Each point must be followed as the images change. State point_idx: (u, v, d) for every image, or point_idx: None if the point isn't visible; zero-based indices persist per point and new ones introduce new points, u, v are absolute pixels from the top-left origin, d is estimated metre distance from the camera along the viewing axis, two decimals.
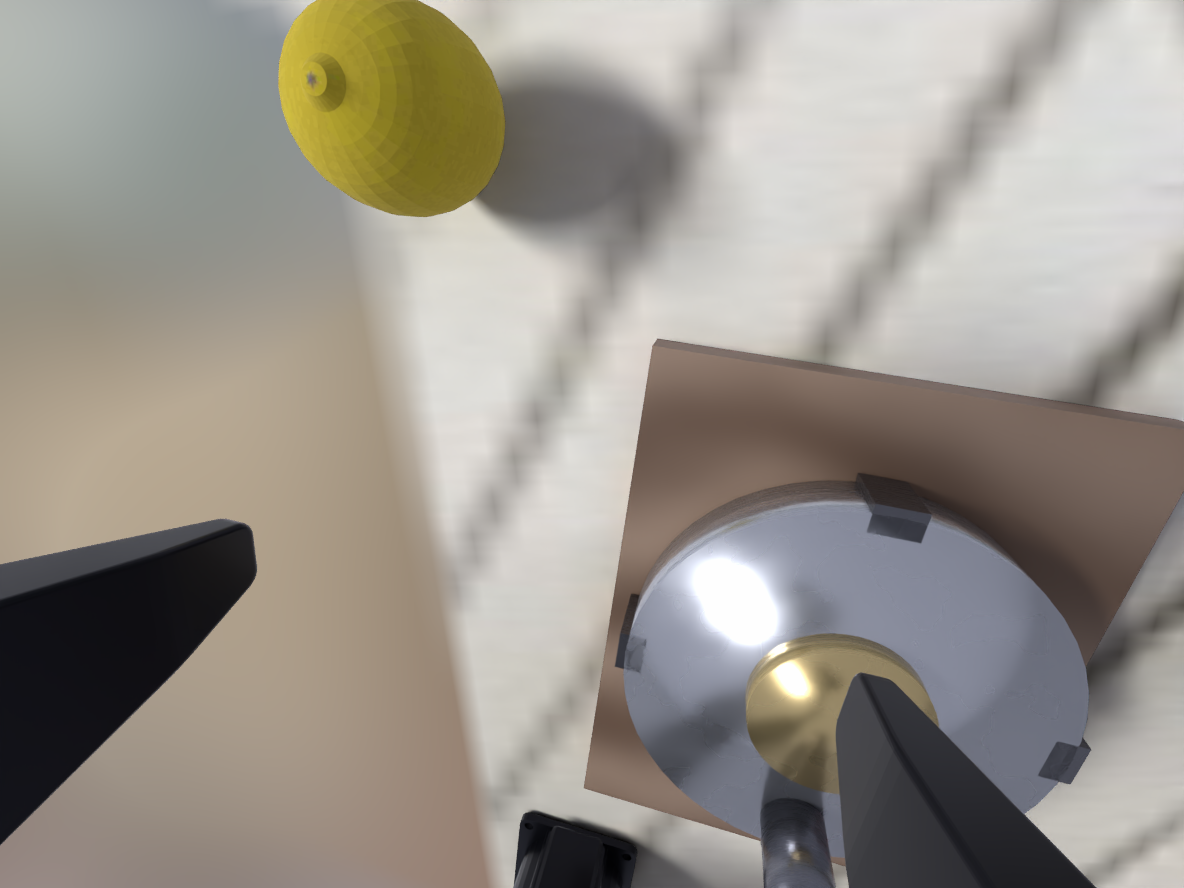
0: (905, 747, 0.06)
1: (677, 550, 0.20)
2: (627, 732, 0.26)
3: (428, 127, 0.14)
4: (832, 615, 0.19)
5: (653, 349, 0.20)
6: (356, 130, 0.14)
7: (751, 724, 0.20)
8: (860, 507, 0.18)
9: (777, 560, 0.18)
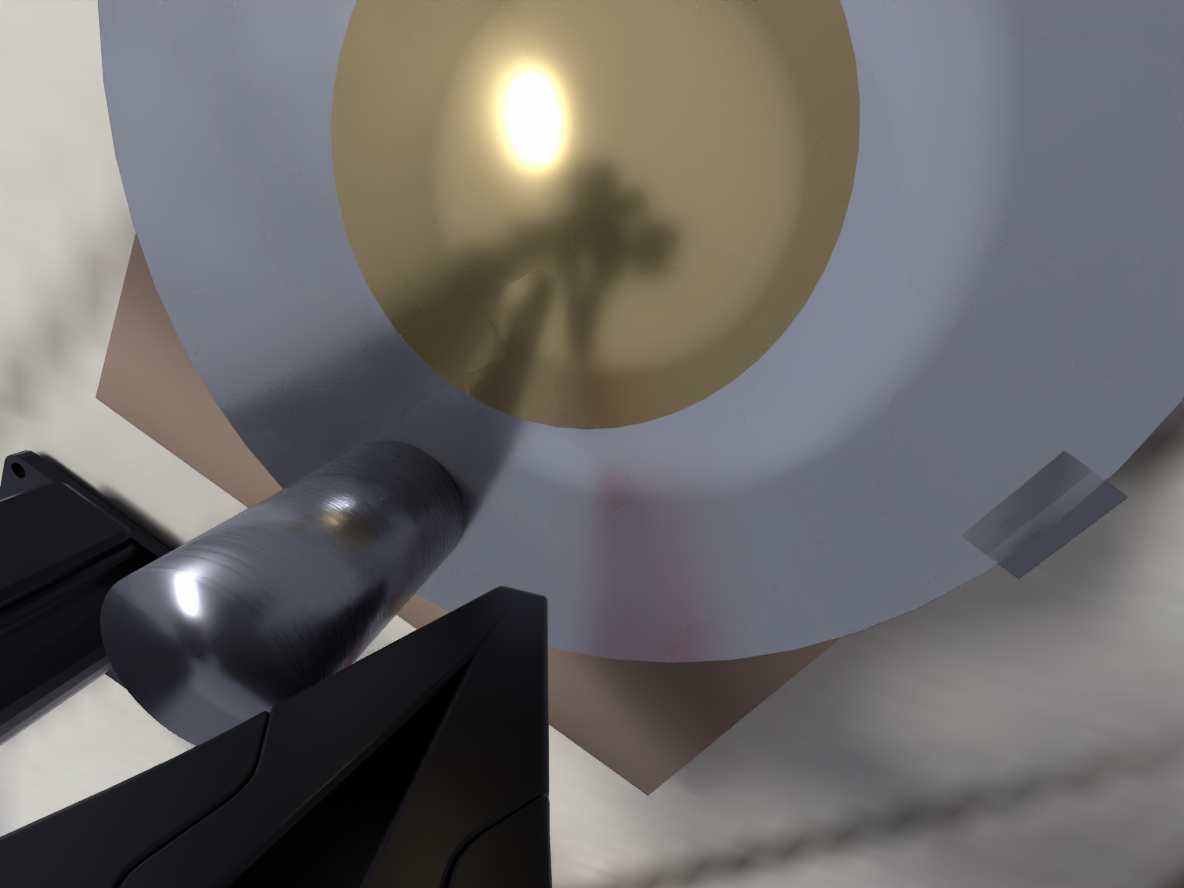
0: (489, 639, 0.06)
1: None
2: None
3: None
4: None
5: None
6: None
7: (346, 106, 0.07)
8: None
9: None
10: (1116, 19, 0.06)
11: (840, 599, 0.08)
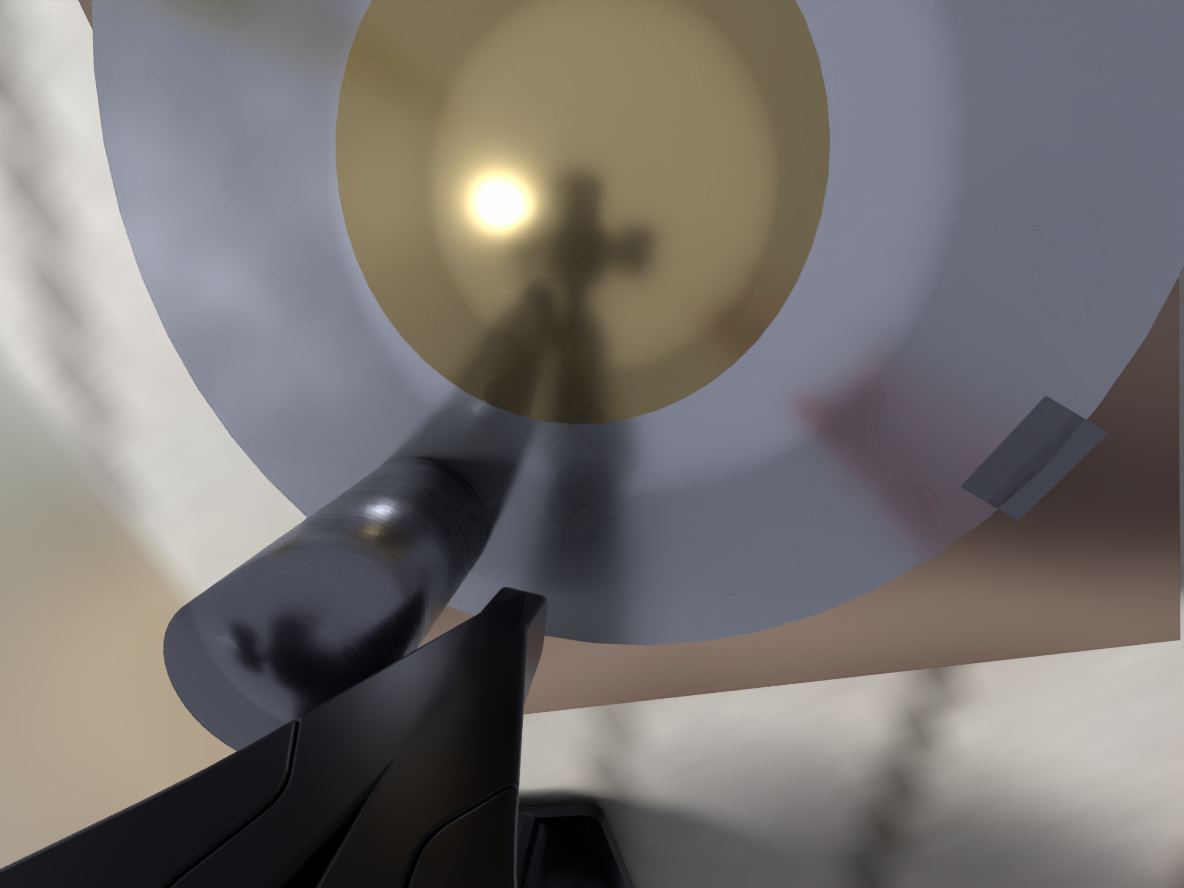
0: (468, 634, 0.06)
1: None
2: None
3: None
4: None
5: None
6: None
7: (348, 143, 0.07)
8: None
9: None
10: (1045, 1, 0.06)
11: (855, 560, 0.09)
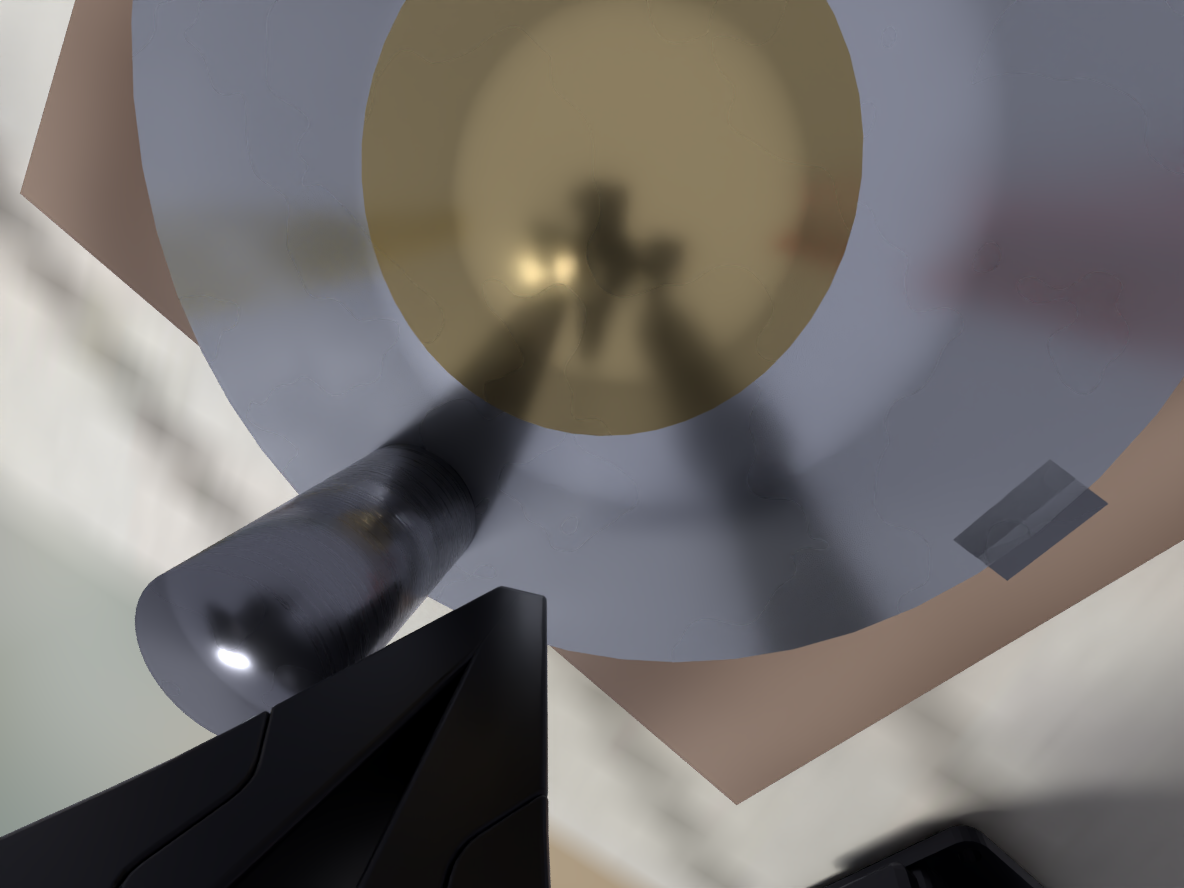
0: (488, 639, 0.06)
1: None
2: None
3: None
4: None
5: (24, 194, 0.13)
6: None
7: (376, 126, 0.07)
8: None
9: None
10: (1096, 63, 0.06)
11: (839, 600, 0.09)
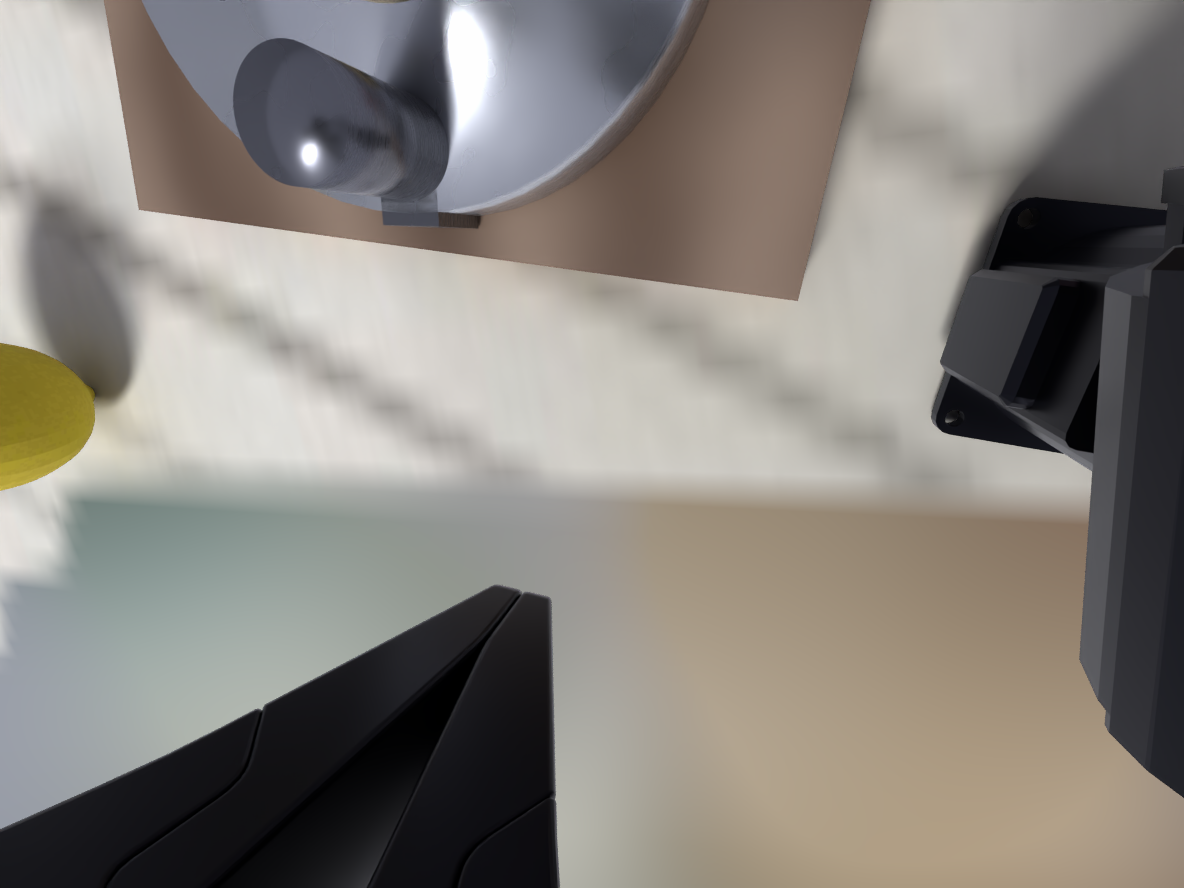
0: (493, 640, 0.06)
1: None
2: (654, 221, 0.16)
3: None
4: None
5: (141, 208, 0.19)
6: None
7: None
8: None
9: None
10: None
11: None
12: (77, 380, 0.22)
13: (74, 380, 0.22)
